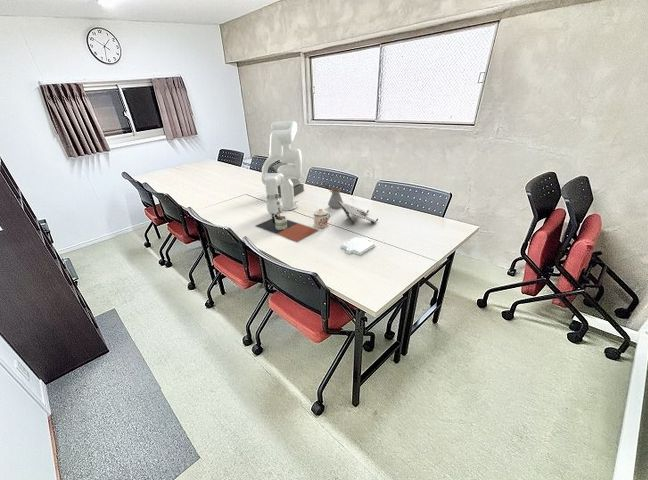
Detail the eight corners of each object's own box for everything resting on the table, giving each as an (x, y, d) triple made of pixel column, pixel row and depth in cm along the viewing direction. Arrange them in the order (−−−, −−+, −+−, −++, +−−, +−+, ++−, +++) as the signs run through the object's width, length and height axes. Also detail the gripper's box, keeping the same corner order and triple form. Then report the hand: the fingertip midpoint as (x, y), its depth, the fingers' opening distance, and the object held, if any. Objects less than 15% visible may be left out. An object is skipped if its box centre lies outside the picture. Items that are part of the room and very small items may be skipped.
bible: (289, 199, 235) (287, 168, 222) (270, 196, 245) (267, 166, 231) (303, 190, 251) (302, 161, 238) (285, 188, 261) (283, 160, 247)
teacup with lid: (319, 229, 181) (318, 212, 175) (311, 225, 188) (310, 208, 182) (334, 224, 186) (334, 207, 180) (325, 220, 193) (325, 204, 187)
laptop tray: (373, 233, 184) (380, 221, 180) (343, 223, 177) (350, 209, 173) (360, 220, 203) (366, 208, 199) (333, 210, 196) (339, 197, 192)
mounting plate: (357, 257, 149) (357, 254, 148) (338, 249, 158) (338, 246, 157) (377, 244, 159) (377, 241, 158) (358, 238, 168) (358, 235, 167)
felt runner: (276, 216, 205) (276, 216, 204) (318, 230, 181) (318, 230, 180) (255, 226, 193) (255, 225, 193) (296, 241, 169) (296, 241, 169)
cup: (282, 223, 192) (281, 214, 189) (289, 227, 187) (289, 217, 184) (273, 227, 189) (272, 218, 185) (280, 230, 183) (279, 221, 180)
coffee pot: (346, 207, 210) (347, 187, 202) (334, 211, 206) (334, 191, 198) (329, 200, 226) (329, 181, 218) (317, 203, 222) (317, 184, 214)
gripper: (284, 196, 180) (286, 223, 189) (269, 192, 189) (272, 218, 199) (275, 200, 175) (278, 227, 185) (260, 195, 185) (264, 221, 194)
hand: (275, 222), depth 192 cm, fingers closed
